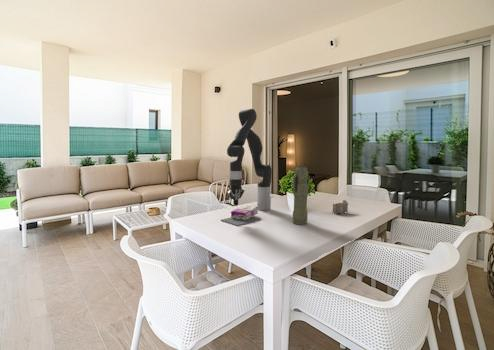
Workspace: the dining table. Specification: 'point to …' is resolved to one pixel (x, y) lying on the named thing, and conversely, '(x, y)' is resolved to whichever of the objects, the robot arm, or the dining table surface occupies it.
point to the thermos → (300, 195)
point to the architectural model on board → (340, 207)
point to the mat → (239, 221)
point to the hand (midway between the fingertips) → (235, 205)
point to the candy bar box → (244, 212)
